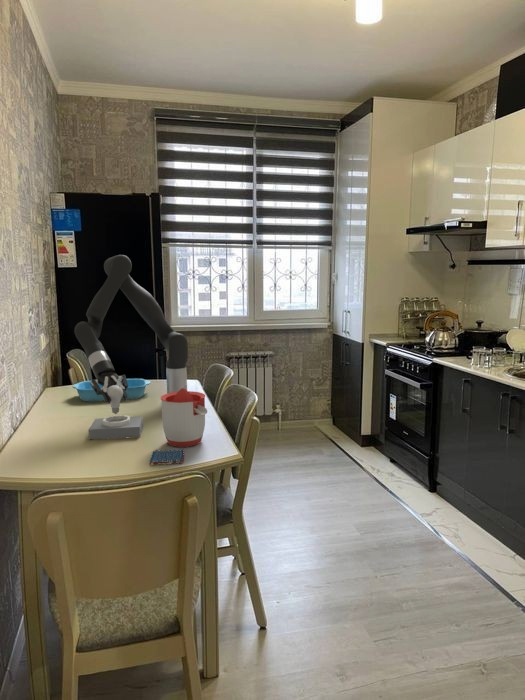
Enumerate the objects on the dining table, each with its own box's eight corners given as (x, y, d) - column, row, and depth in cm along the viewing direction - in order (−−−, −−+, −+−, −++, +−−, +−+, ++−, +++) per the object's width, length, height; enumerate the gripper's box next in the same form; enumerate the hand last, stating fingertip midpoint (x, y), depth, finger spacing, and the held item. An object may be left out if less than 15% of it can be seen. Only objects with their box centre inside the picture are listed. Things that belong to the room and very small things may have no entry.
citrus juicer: (191, 453, 164) (189, 395, 161) (153, 444, 174) (150, 389, 171) (219, 440, 178) (218, 386, 175) (182, 432, 187) (180, 381, 184)
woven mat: (183, 465, 155) (183, 459, 155) (149, 467, 154) (148, 461, 154) (185, 454, 166) (185, 448, 165) (153, 455, 165) (153, 449, 164)
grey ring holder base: (143, 426, 195) (142, 412, 195) (139, 437, 182) (139, 422, 181) (96, 428, 193) (95, 414, 192) (89, 440, 179) (88, 425, 178)
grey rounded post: (108, 416, 182) (107, 388, 180) (105, 412, 187) (104, 384, 186) (125, 414, 185) (124, 386, 183) (122, 410, 190) (120, 382, 188)
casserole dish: (150, 389, 260) (149, 376, 259) (151, 399, 238) (151, 385, 237) (75, 394, 251) (75, 380, 249) (70, 405, 229) (69, 390, 228)
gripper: (86, 361, 184) (102, 398, 177) (121, 357, 193) (138, 391, 187) (80, 373, 188) (96, 409, 181) (115, 368, 198) (131, 402, 191)
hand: (117, 400), depth 184 cm, fingers closed on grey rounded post, 6 cm apart
